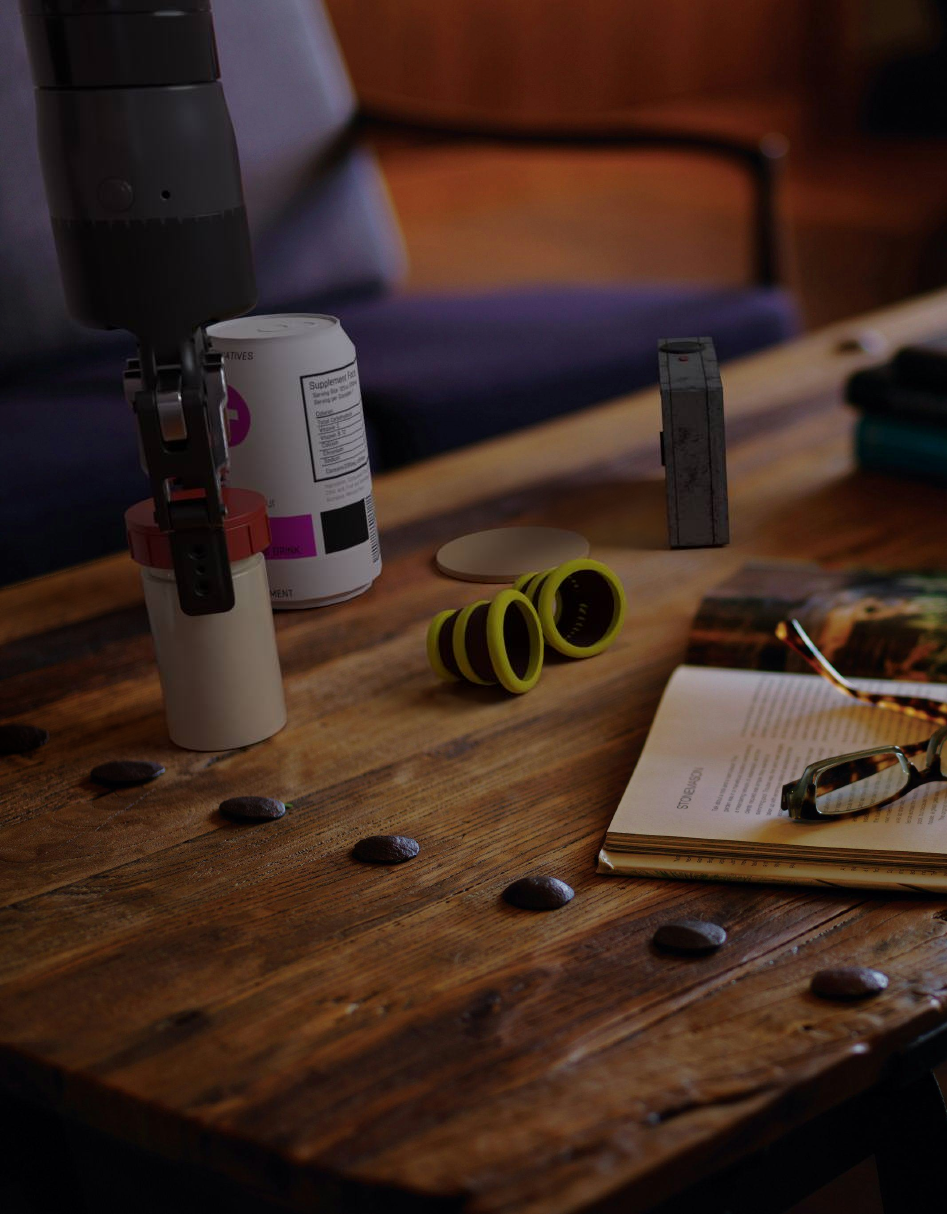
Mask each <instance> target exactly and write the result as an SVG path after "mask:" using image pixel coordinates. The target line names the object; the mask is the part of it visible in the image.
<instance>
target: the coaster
mask: <svg viewBox="0 0 947 1214" xmlns="http://www.w3.org/2000/svg"><path fill="white" fill-rule="evenodd" d="M590 549H591V547H590V542H589V540H588V539H587V538H586V537H585V536H583V535H581V533H580V534H579V533H577V532H575V531H571V530H569V529H568V530H567V529H563V528H556V527H548V526H512V527H500V528H495V529H487V530H482V531H478V532H473V533H471V534H467V535H463V536H461V537H458V538H456V539H454V540H452V541H449V542H448V543H446V544H444V545H443V546H442V547H441V548H439V549H438V551H437V553H436V556H435V559H436V566H437V568H438V570H439V571H440V572H442V573H443V574H444V575H446V576H448V577H451V578H453V579H457V580H461V581H466V582H474V583H484V584H485V583H487V584H507V583H509V584H510V583H515V581H516V580H517V579H519V578H520V577H521V576H523V575H525V574H528V573H532V572H539V573H542V572H544V571H547V570H549V569H552V568H557V567H559V566H560V565H562V564H563V563H565V562H568V561H571V560H574V559H589V557H590V554H591V550H590Z"/></svg>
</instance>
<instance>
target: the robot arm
mask: <svg viewBox="0 0 947 1214" xmlns="http://www.w3.org/2000/svg"><path fill="white" fill-rule="evenodd" d="M17 5H18V12H19V14H20V15H21V16H20V22H21V26H22V32H23V38H24V42H25V43H24V44H25V48H26V54H27V59H28V66H29V70H30V71H29V72H30V75H31V81H32V86H34V87H35V88H33V95H34V103H35V105H34V107H35V127H36V143H37V144H36V146H37V152H38V161H39V165H40V171H41V176H42V181H43V187H44V192H45V197H46V203H47V209H48V214H49V220H50V225H51V230H52V236H53V241H54V247H55V253H56V259H57V265H58V269H59V275H60V280H61V285H62V291H63V296H64V297H63V298H64V302H65V307H66V311H67V314H68V316H69V318H70V319H71V320H72V321H73V322H74V323H75V324H78V325H79V326H82V327H85V328H88V329H93V330H99V331H107V332H108V331H111V332H112V331H114V330H125V331H128V332H130V333H131V334H132V336H133V337H134V338H135V341H136V351H137V356H138V357H135V358H126V362H125V363H126V370H124V371H123V370H122V381H123V382H122V383H123V391H124V397H125V403H126V405H127V406H128V408H129V409H130V411H131V413H132V414H133V417H134V423H135V430H136V438H137V445H138V454H139V461H140V468H141V471H143V473H144V474H145V475H146V477H147V478H148V480H149V484H150V490H151V495H152V498H153V500H154V505H155V511H153V516H154V522H155V524H156V523H158V526H159V530H160V532H163V531H164V534H168V538H169V543H170V549H171V555H172V561H173V567H174V573H175V579H176V584H177V590H178V596H179V602H180V608H181V610H182V612H183V613H184V614H186V615H188V616H201V615H209V614H217V613H225V612H228V611H230V610H231V609H232V608H233V607H234V605H235V591H234V585H233V579H232V572H231V566H230V560H229V553H228V547H227V540H226V534H225V527H226V521H225V519H228V510H227V507H225V505H224V504H223V498H222V491H221V487H225V484H223V485H221V483H220V482H222V481H227V475H226V473H229V467H230V456H229V449H228V443H229V442H230V440H231V436H230V425H229V417H228V411H227V406H226V404H227V401H228V395H227V391H228V381H227V371H226V365H225V359H224V353H223V351H220V352H210V348H212V340H211V337H208V335H207V330H206V328H203V329H202V328H201V326H202V325H204V324H207V323H220V322H225V321H229V320H234V319H237V318H239V317H241V316H244V315H246V314H248V313H249V312H251V311H252V310H254V309H255V307H256V306H257V304H258V301H259V296H260V295H259V289H258V283H257V273H256V267H255V261H254V254H253V247H252V240H251V239H252V238H251V233H250V226H249V219H248V212H247V204H246V197H245V190H244V183H243V175H242V168H241V162H240V155H239V148H238V147H239V146H238V143H237V138H236V137H237V136H236V132H235V129H234V125H233V121H232V118H231V114H230V111H229V107H228V104H227V100H226V97H225V92H224V87H223V82H222V81H220V79H221V78H222V75H221V67H220V60H219V52H218V46H217V40H216V39H217V38H216V33H215V32H216V31H215V24H214V19H213V18H214V17H213V12H212V11H211V10H212V5H211V0H17ZM173 487H182V488H176V489H173V490H172V488H173ZM201 488H204V489H205V494H206V497H200V498H191V499H181V500H173V497H172V493H173V492H178V491H184V490H191V489H201Z"/></svg>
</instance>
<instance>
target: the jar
mask: <svg viewBox="0 0 947 1214" xmlns="http://www.w3.org/2000/svg"><path fill="white" fill-rule="evenodd" d="M230 566H231V572H232V579H233V585H234V591H235V605H234V607H233V608H232V609H231V610H230V611H228V612H225V613H217V614H209V615H201V616H188V615H186V614H184V613H183V612H182V610H181V608H180V602H179V596H178V590H177V584H176V579H175V573H174V569H158V568H151V567H146V566H143V565H142V568H141V570H140V578H141V585H142V589H143V594H144V595H143V596H144V600H145V607H146V610H147V612H146V613H147V617H148V624H149V629H150V635H151V640H152V646H153V652H154V657H155V663H156V669H157V674H158V675H157V676H158V680H159V686H160V691H161V697H162V703H163V708H164V714H165V719H166V725H167V731H168V736H169V739H170V740H171V742H172V743H173V744H175V745H176V746H178V747H180V748H183V749H187V750H191V751H199V752H216V751H227V750H234V749H239V748H244V747H247V746H251V745H255V744H258V743H259V742H260V743H261V742H262V741H264V740H267V739H269V738H270V737H273V736H274V735H276V734H278V733H279V732H280V731H281V730H282V729H283V728H284V727H285V726H286V724H287V721H288V716H289V715H288V710H287V709H288V708H287V703H286V695H285V689H284V682H283V675H282V668H281V661H280V655H279V648H278V642H277V634H276V633H277V632H276V627H275V620H274V613H273V608H272V606H271V599H270V592H269V585H268V579H267V572H266V565H265V558H264V555H263V554H262V552H259V553H257V554H255V555H252V556H250V557H247V558H245V559H241V560H238V561H235V562H231V563H230Z"/></svg>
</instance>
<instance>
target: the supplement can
mask: <svg viewBox="0 0 947 1214" xmlns="http://www.w3.org/2000/svg"><path fill="white" fill-rule="evenodd" d="M205 329H206V330H207V335H208V337H211V340H212V348H210V352H220V351H223V353H224V359H225V365H226V371H227V381H228V391H227V395H228V401H227V404H226V406H227V411H228V417H229V425H230V436H231V440H230V442H229V443H228V449H229V456H230V467H229V473H226V475H227V481H222V482H220V483H221V485H223V484H225V487H227V488H242V489H248V490H253V491H256V492H259V493H261V494H262V495H263V496H264V497H265V499H266V504H267V511H268V518H269V524H270V531H271V539H272V542H271V543H270V544H269V546H268V547H267V548H265V549H264V550H262V551H261V552H262V554H263V555H264V558H265V565H266V572H267V579H268V585H269V592H270V599H271V606H272V609H275V610H304V609H311V608H317V607H324V606H329V605H333V604H337V603H341V602H344V601H347V600H350V599H352V598H354V597H356V596H359V595H361V594H363V593H364V592H366V591H367V590H368V589H369V588H370V587H372V584H373V581H374V580H375V579H376V578H378V576H380V575H381V573H382V567H383V564H382V555H381V548H380V540H379V539H380V538H379V532H378V522H377V515H376V508H375V507H376V505H375V500H374V490H373V482H372V473H371V466H370V458H369V450H368V441H367V435H366V427H365V419H364V411H363V401H362V395H361V394H362V393H361V386H360V379H359V371H358V370H359V369H358V362H357V355H356V346H355V344H354V343H353V342H352V341H351V339H350V338H349V336H348V335H347V333H346V332H345V330H344V329H343V327H342V326H341V322H340V318H339V319H338V318H337V317H336V316H333V315H327V314H322V313H321V314H320V313H303V312H302V313H299V312H298V313H275V314H274V313H273V314H264V315H262V314H261V315H255V316H254V315H253V316H246V317H240V318H239V317H238V318H233V319H230V320H226V321H222V322H216V323H215V324H212V325H209V326H207V327H206V328H205Z"/></svg>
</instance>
